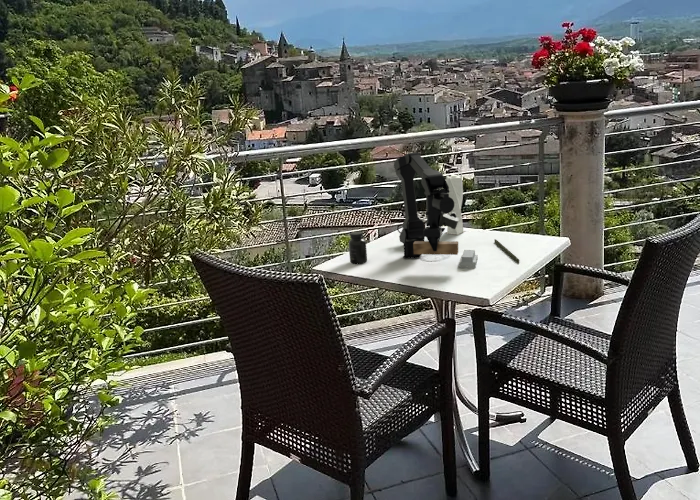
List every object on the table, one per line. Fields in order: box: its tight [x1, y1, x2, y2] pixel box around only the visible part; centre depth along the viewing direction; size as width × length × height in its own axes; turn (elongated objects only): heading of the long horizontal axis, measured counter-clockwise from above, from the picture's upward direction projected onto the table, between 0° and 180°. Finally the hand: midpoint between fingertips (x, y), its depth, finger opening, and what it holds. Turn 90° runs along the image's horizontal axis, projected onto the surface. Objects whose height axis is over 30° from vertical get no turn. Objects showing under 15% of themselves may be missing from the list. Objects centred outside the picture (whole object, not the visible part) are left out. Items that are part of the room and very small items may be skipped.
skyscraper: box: [443, 171, 467, 236], centre depth 299 cm, size 8×8×28 cm
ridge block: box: [458, 249, 479, 268], centre depth 256 cm, size 6×10×4 cm, turn 165°
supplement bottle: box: [348, 231, 368, 265], centre depth 266 cm, size 7×7×12 cm
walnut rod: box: [413, 240, 459, 256], centre depth 248 cm, size 16×4×4 cm, turn 75°
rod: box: [494, 239, 520, 264], centre depth 267 cm, size 31×1×2 cm, turn 4°
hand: (435, 249), depth 248 cm, fingers closed on walnut rod, 3 cm apart
